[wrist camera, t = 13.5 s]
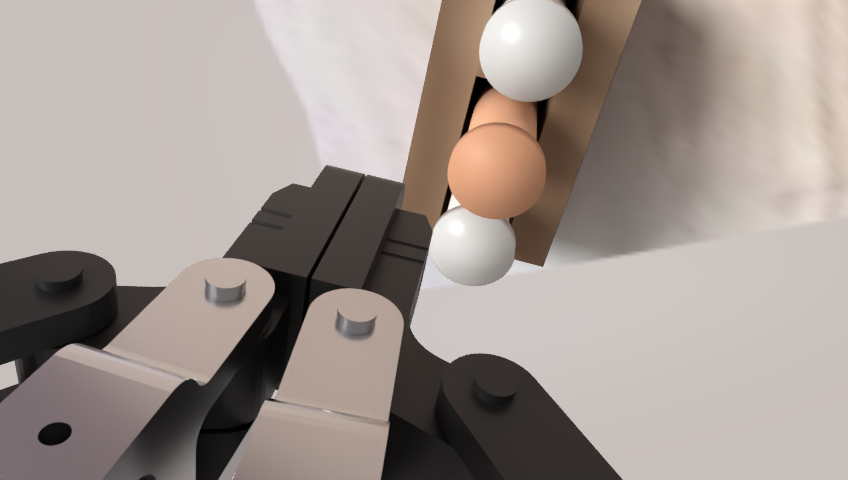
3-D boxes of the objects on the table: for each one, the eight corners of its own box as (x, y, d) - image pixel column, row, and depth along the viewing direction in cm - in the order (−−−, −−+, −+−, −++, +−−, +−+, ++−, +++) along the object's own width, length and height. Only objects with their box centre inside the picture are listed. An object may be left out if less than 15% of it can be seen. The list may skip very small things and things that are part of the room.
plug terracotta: (555, 75, 32) (559, 144, 25) (532, 145, 34) (529, 229, 27) (479, 55, 32) (459, 118, 25) (461, 127, 34) (438, 205, 27)
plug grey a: (529, 146, 36) (525, 225, 28) (510, 206, 38) (502, 294, 30) (461, 128, 36) (439, 202, 29) (445, 189, 38) (421, 273, 31)
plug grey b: (584, -27, 31) (597, 13, 24) (559, 52, 33) (563, 112, 26) (506, -47, 31) (493, -13, 24) (485, 33, 33) (468, 88, 26)
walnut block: (632, -31, 31) (646, -11, 27) (543, 220, 39) (543, 266, 34) (466, -72, 31) (454, -60, 27) (409, 185, 39) (393, 227, 35)
